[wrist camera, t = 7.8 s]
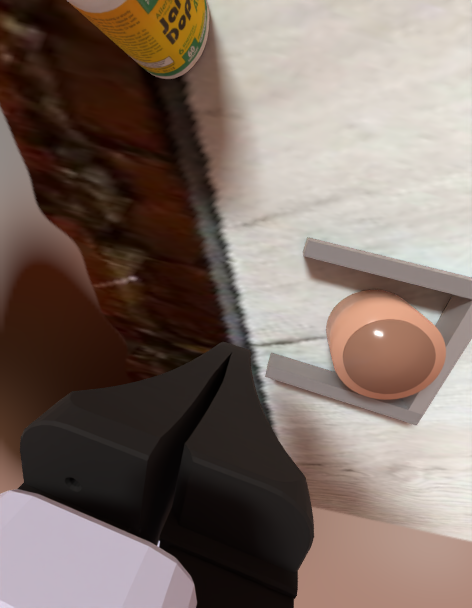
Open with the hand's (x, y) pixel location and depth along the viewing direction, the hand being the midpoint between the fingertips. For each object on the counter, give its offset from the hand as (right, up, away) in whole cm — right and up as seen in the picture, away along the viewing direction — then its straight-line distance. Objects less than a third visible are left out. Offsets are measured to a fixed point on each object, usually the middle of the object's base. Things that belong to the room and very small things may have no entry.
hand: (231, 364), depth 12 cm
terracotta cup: (+10, +1, +8) cm, 12 cm away
